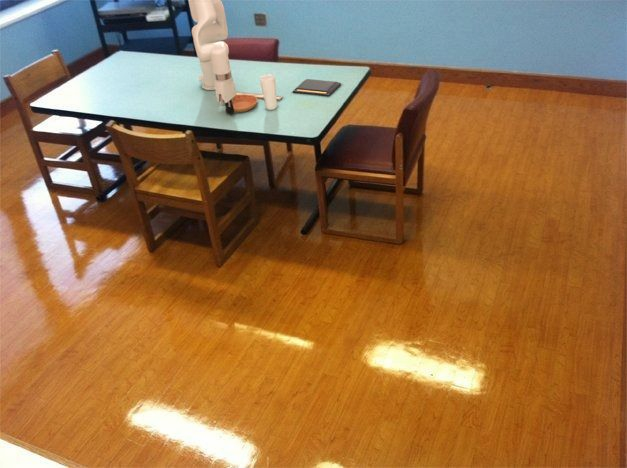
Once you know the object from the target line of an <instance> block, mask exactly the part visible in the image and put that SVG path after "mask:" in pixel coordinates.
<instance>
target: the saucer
mask: <svg viewBox="0 0 627 468" xmlns="http://www.w3.org/2000/svg"><path fill="white" fill-rule="evenodd" d="M258 99H259V98H256V97H255V96H253V95H238V96H235V98H234V99H233V108H234V113H246V112H249V111H251V110H252V109H254V108H255V107H256V105H257V104H258ZM224 108H225V109H226V107H225V106H224Z"/></svg>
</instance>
